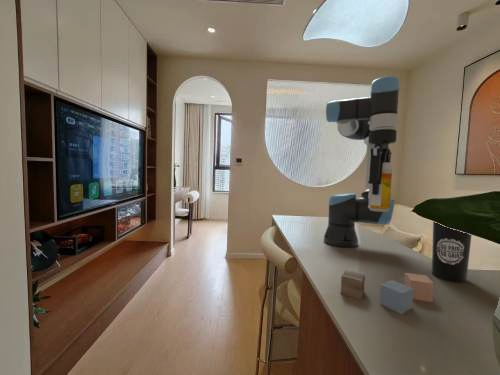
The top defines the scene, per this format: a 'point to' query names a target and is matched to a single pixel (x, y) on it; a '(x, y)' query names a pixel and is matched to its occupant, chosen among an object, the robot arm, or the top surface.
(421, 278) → the terracotta cube
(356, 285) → the walnut cube
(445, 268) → the water bottle
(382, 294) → the slate blue cube
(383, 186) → the beer can
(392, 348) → the top surface
